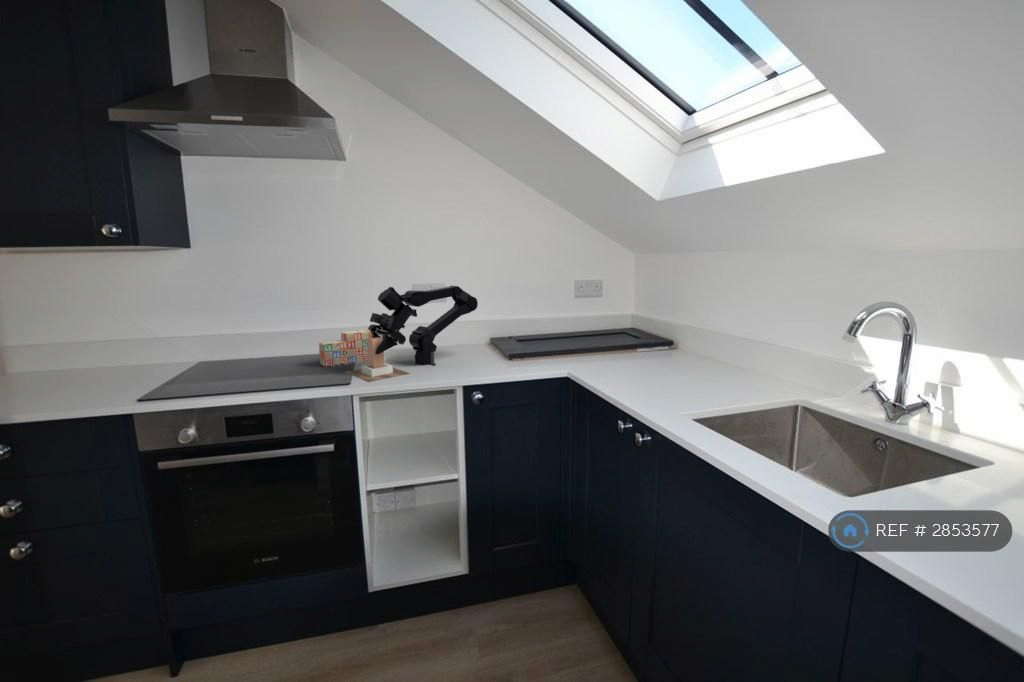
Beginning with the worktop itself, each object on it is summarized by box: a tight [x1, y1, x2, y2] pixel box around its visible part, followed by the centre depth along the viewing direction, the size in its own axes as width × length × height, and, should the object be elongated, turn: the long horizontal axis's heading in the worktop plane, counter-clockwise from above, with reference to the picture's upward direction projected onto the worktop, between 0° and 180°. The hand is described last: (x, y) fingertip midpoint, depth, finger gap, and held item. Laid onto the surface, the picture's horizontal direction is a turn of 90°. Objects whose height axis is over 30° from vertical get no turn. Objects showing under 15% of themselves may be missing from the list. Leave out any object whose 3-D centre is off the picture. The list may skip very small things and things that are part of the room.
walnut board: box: [345, 366, 411, 383], centre depth 170 cm, size 16×19×1 cm
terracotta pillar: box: [367, 337, 385, 369], centre depth 169 cm, size 4×4×12 cm
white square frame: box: [361, 362, 393, 377], centre depth 170 cm, size 8×8×2 cm
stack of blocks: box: [318, 329, 372, 366], centre depth 191 cm, size 21×6×12 cm, turn 129°
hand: (372, 352), depth 168 cm, fingers open, 6 cm apart
